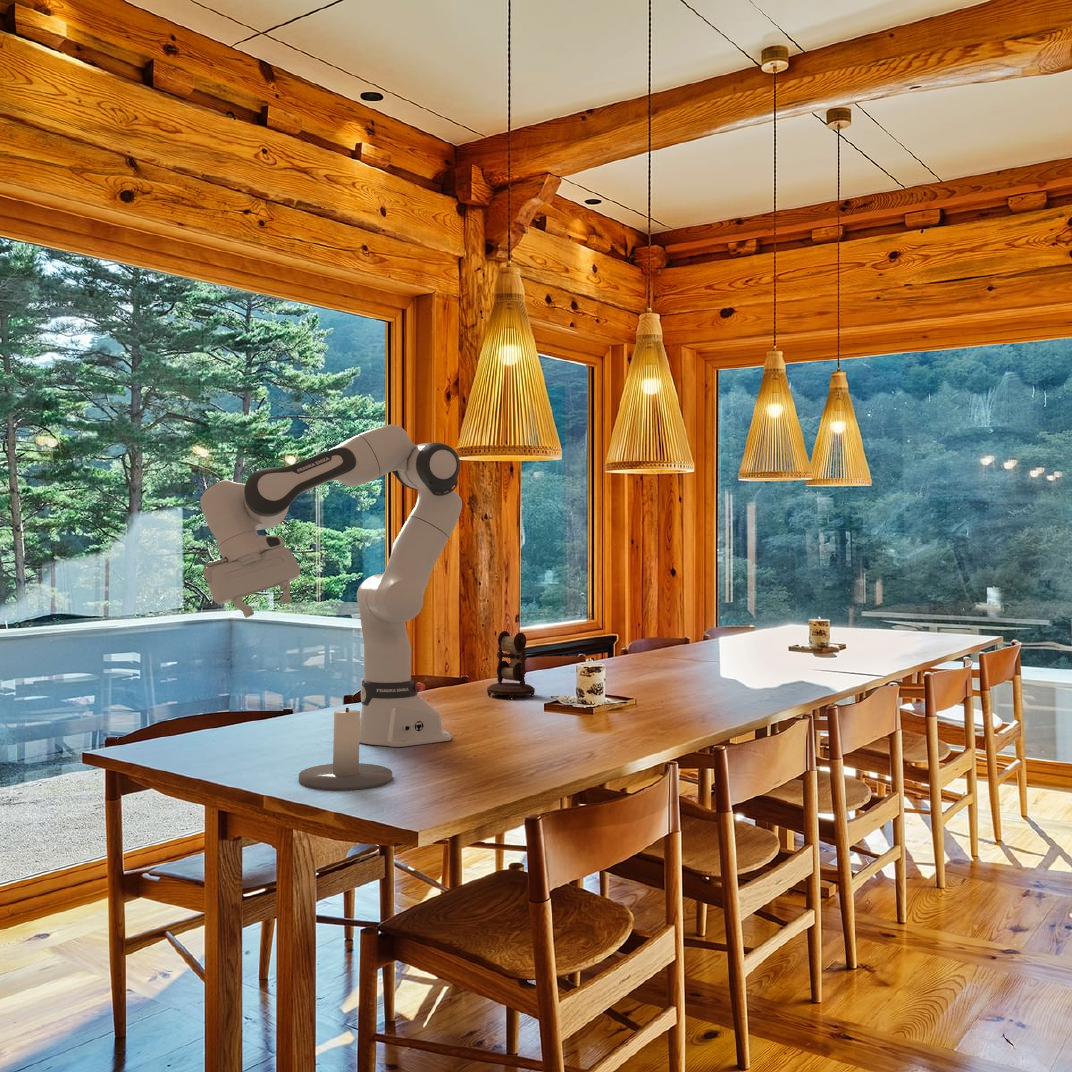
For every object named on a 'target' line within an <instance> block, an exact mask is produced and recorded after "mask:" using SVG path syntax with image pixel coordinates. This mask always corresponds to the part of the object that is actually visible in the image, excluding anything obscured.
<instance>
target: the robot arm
mask: <svg viewBox="0 0 1072 1072" xmlns="http://www.w3.org/2000/svg"><path fill="white" fill-rule="evenodd" d="M460 470H461V461H460V457H459V455H458V453H457V452H456V450H455V449H454V448H453V447H451V446H449V445H448V444H445V443H442V442H439V441H438V442H425V443H419V444H415V443H414V442H413V441H412V440H411V439H410V436H409V434H408V433H407V431H406V430H405V429H404V428H403V427H401V426H400V425H398V424H392V423H390V424H385V425H381V426H378V427H375V428H372V429H369V430H366V431H364V432H361V433H359V434H357V435H355V436H353V437H350V438H348V439H346V440H345V441H343V442H341V443H339V444H337V445H335V446H334V447H332V448H330V449H328V450H327V451H324V452H321V453H318V454H317V455H314V456H310V457H308V458H306V459H304V460H301V461H298V462H296V463H294V464H291V465H288V466H282V467H268V468H267V467H265V468H262V469H261V468H260V469H258V470H256V471H254V472H252V474H251V475H250V476H249V477H248V478H247V480H246V482H245V483H239V482H234V481H231V480H229V479H223V480H219V481H217V482H215V483H213V484H212V485H210V486H208V487H207V489H206V490H204V491H203V492H202V495H201V497H200V506H201V511H202V514H203V517H204V519H205V521H206V524H207V526H208V528H209V530H210V532H211V534H213V536H214V537H215V539H216V540H215V541H216V545H217V546H216V547H217V548H218V551H219V552H220V555H221V557H222V558H219V559H216V560H214V561H208V562H207V563H205V565H204V566H203V568H202V574H203V576H204V579H205V580H206V582H207V584H208V587H209V592H210V594H211V597H212V600H213V602H214V603H216V604H217V605H220V606H221V605H224V604H227V603H230V602H232V603H233V606H234V607H236V608H237V609H238V610H240V611H241V612H242V614H243V616H244V618H245V619H247V618H249V617H252V616H253V615H254V614H255V611H254V610H253V607H252V605H249V606H247V604H246V603H244V602H243V601H244V599H243V598H244V597H245V598H246V597H247V596H250V595H254V594H256V593H260V592H263V591H266V590H269V589H271V588H272V589H273V588H275V587H278V586H279V588H280V589H281V590H282V591H283V592H282V593H283V594H282V596H280V597H279V599H280V601H281V602H282V605H288V604H289V603H291V602H292V601H293V599H292V597H291V595H290V591H291V583H290V582H293V581H295V580H296V579H298V578H299V576H300V574H301V569H300V566H299V564H298V562H297V559H296V558H295V557H294V554H293V553H292V551H291V550H290V548H288V547H286V546H284V545H285V541H284V538H283V537H282V536H279V535H274V536H273V535H261V534H259V533H258V531H263V530H267V529H272V528H275V527H278V526H279V525H280V524H281V523H282V522H283V521H284V520H285V518H286V516H287V514H288V511H289V507H290V506H291V504H292V502H293V501H294V500H295V499H296V498H297V497H298V496H299V495H301V494H303V493H305V492H307V491H310V490H311V489H314V488H317V487H319V486H322V485H324V484H326V483H329V482H332V481H338V482H339V483H340V484H342V485H344V486H347V487H351V488H353V487H358V486H361V485H365V484H368V483H370V482H373V481H375V480H376V479H380V477H383V476H384V475H386V474H389V473H393V475H394V476H395V478H396V479H397V481H398V482H399V483H400V484H401V485H403V486H405V487H406V488H408V489H411V490H417V498H416V503H415V506H414V508H413V509H412V510H411V512H410V514H409V515H408V518H407V519H406V520H405V522H404V524H403V526H402V528H401V530H400V531H399V533H398V535H397V537H396V538H395V540H394V541H393V544H392V547H391V553H390V556H389V560H388V562H387V565H386V567H385V570H384V572H383V573H379V574H374V575H371V576H370V577H368V578H366V579H365V580H363V581H362V582H361V584H360V585H359V586H358V589H357V591H356V600H357V604H358V607H359V615H360V624H361V633H362V639H363V679H361V687H360V701H361V704H362V705H361V711H360V739H359V744H360V743H361V744H366V745H373V746H387V747H392V748H393V747H394V748H400V747H409V746H417V745H425V744H426V745H427V744H432V743H433V744H434V743H440V742H448V741H451V740H452V735H451V733H450V732H449V731H447V730H444V729H443V724H442V718H441V714H440V713H439V711H438V710H437V709H435V708H434V707H433V706H432V705H430V704H429V702H427V701H426V700H424V699H423V698H421V696H419V695H418V694H419V692H424V691H425V690H426V685H425V684H424V682H421V681H420V682H419V681H418V682H416V681H414V680H413V679H412V675H411V673H412V646H411V645H412V644H411V641H410V639H409V634H408V630H407V623H406V622H409V621H411V620H413V619H414V618H416V617H417V616H418V615H419V614H420V612H421V610H422V608H423V607H424V595H425V593H426V592H425V591H426V589H427V586H428V584H429V580H430V577H431V575H432V571H433V569H434V568H435V565H436V564H437V561H438V559H439V558H440V555H442V552H443V550H444V549H445V547H446V544H447V543H448V541H449V540H450V538H451V535H452V534H453V532H454V530H455V529H456V528H455V527H456V526H457V523H458V521H459V518H460V515H461V512H462V509H463V501H462V498H461V496H460V495H459V494H458V492H457V491H455V490H456V488H457V487H458V483H459V475H460V474H459V473H460ZM418 691H419V692H418Z"/></svg>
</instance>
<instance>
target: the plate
mask: <svg viewBox="0 0 1072 1072" xmlns="http://www.w3.org/2000/svg"><path fill="white" fill-rule="evenodd" d="M391 781H393V770H391V769H390V768H388V767H385V766H384V765H378V764H373V763H362V762H361V763H360V762H359V773H358V774H357V775H352V776H337V775H334V774H333V763H328V764H321V765H316V766H311V767H307V768H305V769H303V770H301V771H300V772H299V774H298V783H299V784H300V785H302V786H304V787H306V788H311V789H314V790H323V791H344V792H345V791H346V792H347V791H358V790H359V791H360V790H361V791H362V790H367V789H369V790H370V789H373V788H378V787H382V786H384V785H387V784H389V783H391Z"/></svg>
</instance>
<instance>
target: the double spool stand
mask: <svg viewBox="0 0 1072 1072" xmlns="http://www.w3.org/2000/svg"><path fill="white" fill-rule="evenodd" d="M497 644H498V647H497V650H498V651H497V653H496V657H497V659H498V660H497V661H498V662H497V667H496V674H497V683H492V684H490V685H489V686H487V687H486V692H487V696H488V697H490V696H491V694H493V695H500V696H509V698H513V699H514V697H515V696H526V695H530V696H531V695H534V694H535V692H536V688H535V687H534V686H532V685H530V684H528V683H526V679H525V678H526V674H527V671H526V660H527V659H528V656H527V654H526V645H527V637H526V635H525V634H524V633H523V632H522V631H521V632H518V633H516V634H515V636H511V634H510V632H509V631H507V630H503V631H501V632H500V633H499V634H498V637H497ZM504 652H505V653H504ZM506 652H507V653H506ZM508 652H509V653H508ZM503 658H504V659H506V658H508V659H509V661H510V663H509V662H508V661H507V660H503ZM503 680H507V681H515V682H503ZM534 696H535V695H534Z"/></svg>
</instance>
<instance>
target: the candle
mask: <svg viewBox="0 0 1072 1072" xmlns="http://www.w3.org/2000/svg"><path fill="white" fill-rule="evenodd" d="M360 718H361V711H360V710H358V709H357V710H356V709H350V707H345V709H339V710H335V711H334V712H333V748H332V749H333V753H332V764H333V774H334V775H337V776H352V775H357V774H358V773H359V763H360V742H359V739H360Z"/></svg>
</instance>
